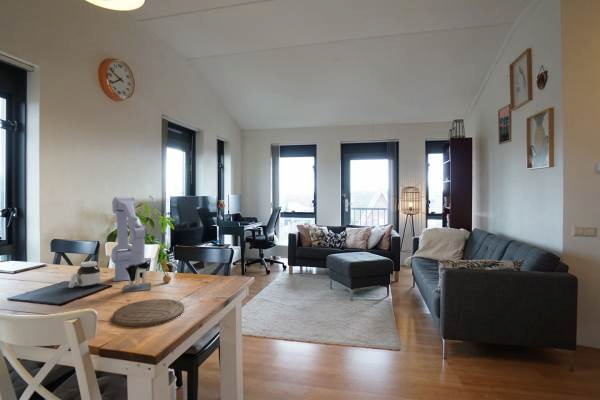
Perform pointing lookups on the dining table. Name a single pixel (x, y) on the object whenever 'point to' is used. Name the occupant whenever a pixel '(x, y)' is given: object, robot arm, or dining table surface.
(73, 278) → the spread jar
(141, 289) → the mat
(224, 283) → the dining table surface
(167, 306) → the trivet
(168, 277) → the figurine
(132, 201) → the robot arm
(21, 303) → the dining table surface
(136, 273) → the stool
